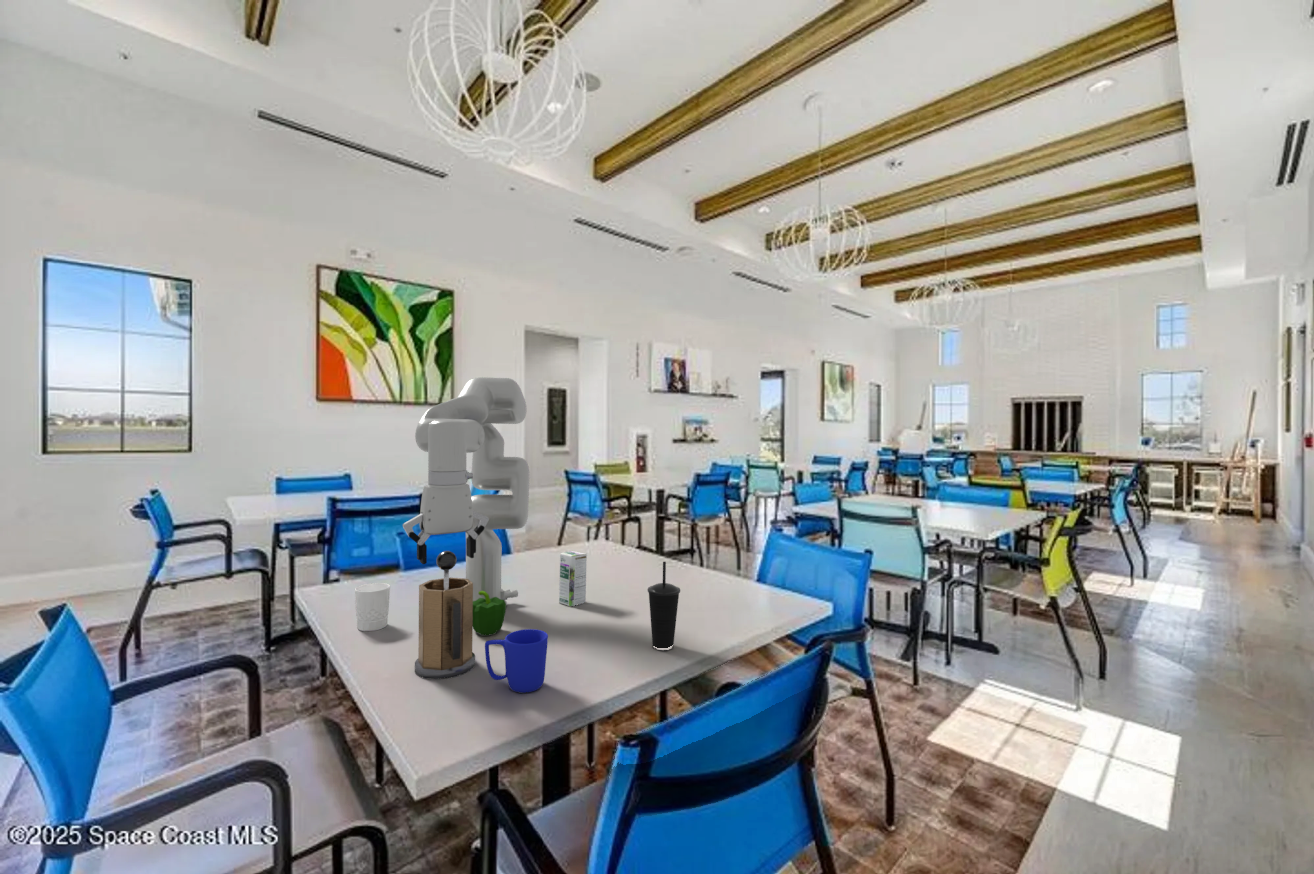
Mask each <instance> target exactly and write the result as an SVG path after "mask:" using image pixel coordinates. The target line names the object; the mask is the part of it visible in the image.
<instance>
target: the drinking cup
mask: <svg viewBox="0 0 1314 874" xmlns="http://www.w3.org/2000/svg"><path fill="white" fill-rule="evenodd" d="M666 564H667V562H666V561H663V562H662V582H659V583H656V584H653V585H650V586H649V587H648V588H647V593H648V599H649V600H648V601H649V602H648V603H649V616H650V625H651V626H650V627H651V628H650V629H651V641H652V642H651V643H652V644H653V645H652V647H653V646H655V647H657V648H668V647H670V646H672V645H673V644H674V642H675V637H676V636H675V634H676V625H677V615H678V614H677V613H678V606H679V598H680V597H679V596H680V593H681V588H680V587H679V586H676V585H674V584H673V583H672V584H671V583H667V582H666V579H667V578H666V576H667V575H666V574H667V567H666V566H667V565H666ZM673 646H674V645H673Z"/></svg>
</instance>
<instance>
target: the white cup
mask: <svg viewBox="0 0 1314 874" xmlns="http://www.w3.org/2000/svg"><path fill="white" fill-rule="evenodd" d="M390 591H391V584H388V583H385V582H374V583H373V582H372V583H366V584H362V585H359V586H357V587H355V588H354V597H355V598H354V599H355V601H354V602H355V603H354V604H355V617H356V629H357V630H358V631H361V632H373V631H378V630H381V629H384V628H386V627H387V625H388V621H389V619H388V618H389V607H390V597H391V596H390V593H391V592H390Z"/></svg>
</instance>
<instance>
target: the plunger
mask: <svg viewBox="0 0 1314 874" xmlns="http://www.w3.org/2000/svg"><path fill="white" fill-rule="evenodd" d="M457 560H458V559H457V556H456V554H455V553H454V552H452V551H450V550H443V551H442V552H440V553H439V554H438V555H437V557H436V565H437V567H438V568H439V569H440V570H442V571H443V578H444V590H449V578H450V571H451V570H452V569H453V568H454V567H455V566H456V564H457Z"/></svg>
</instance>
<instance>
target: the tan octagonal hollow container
mask: <svg viewBox="0 0 1314 874" xmlns="http://www.w3.org/2000/svg"><path fill="white" fill-rule="evenodd" d="M473 630H474V629H473V583H472V582H471V581H470V580H468V579H466V577H464V578H461V577H452V576H451V577H450V576H449V590H444V577H442V578H436V579H430V580H427V581H425V582H422V583H420V584H419V585H418V655H417V656H418V658H417V659H416V660H415V661H414V673H415V675H417V676H418V677H419V678H422V677H423V678H422V679H426V680H427V679H428V680H445V679H446V680H447V679H451V677H452V678H456V677H459V676H462V675H465V674H467V673H469V672H470V671H471V670H472V669H474V668H475V666H476V655H475V653H474V652H473ZM464 673H465V674H464Z"/></svg>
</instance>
